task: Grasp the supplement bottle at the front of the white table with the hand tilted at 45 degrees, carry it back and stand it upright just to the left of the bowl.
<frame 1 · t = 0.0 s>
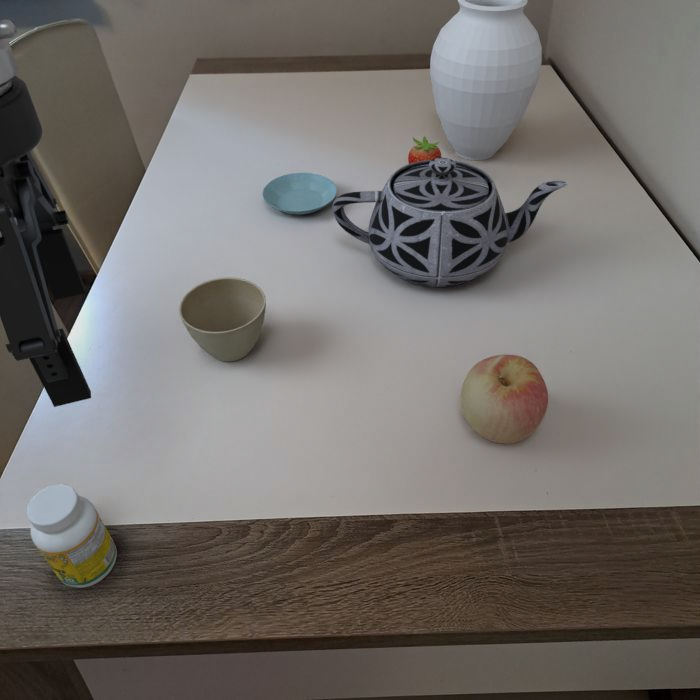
hand: (71, 342, 54), 18 cm above the table, tool pointing down, fingers open, 13 cm apart
bowl: (232, 349, 80), on the table
fruit: (423, 183, 108), on the table
apple: (497, 425, 70), on the table
supplement bottle: (88, 563, 60), on the table
vase: (474, 152, 116), on the table
teapot: (442, 260, 92), on the table
saucer: (300, 204, 104), on the table
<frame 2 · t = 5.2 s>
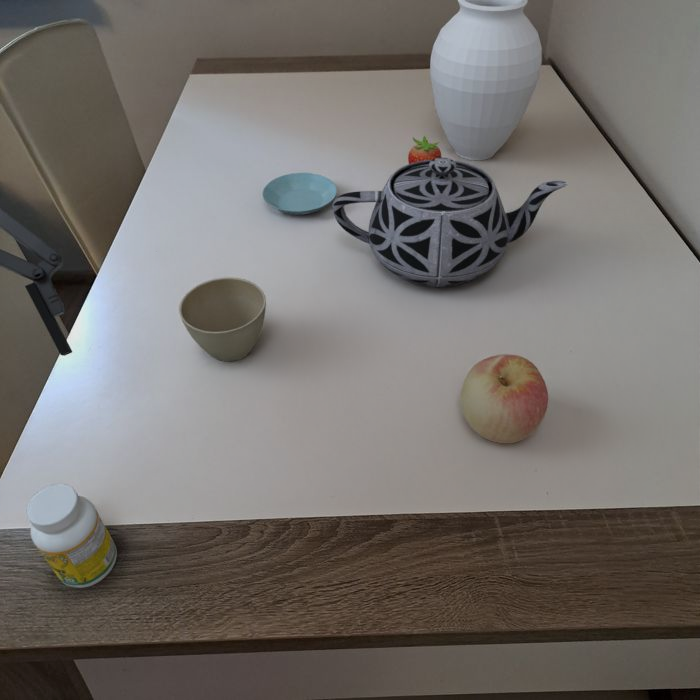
nothing on the table moved.
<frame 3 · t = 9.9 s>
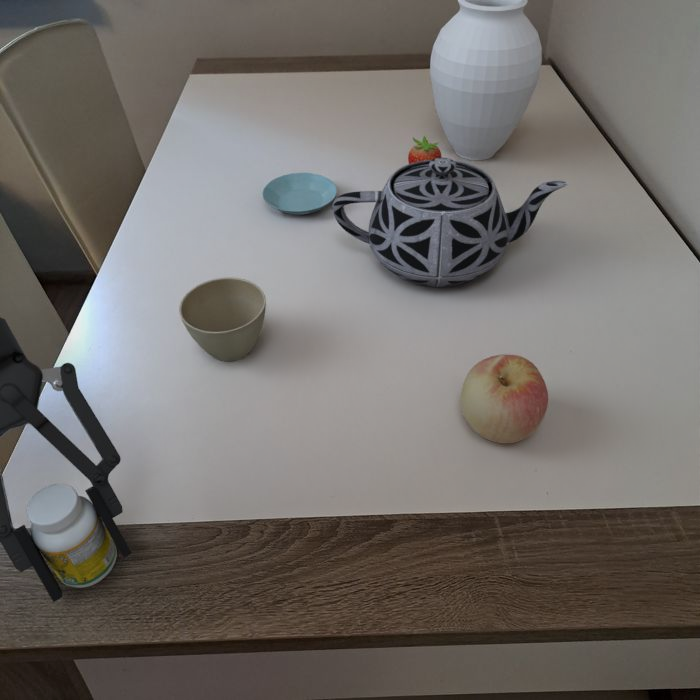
hand: (92, 573, 55), 3 cm above the table, tool tilted 45°, fingers closed on supplement bottle, 5 cm apart
supplement bottle: (88, 563, 60), on the table, touching gripper
everything else where it was.
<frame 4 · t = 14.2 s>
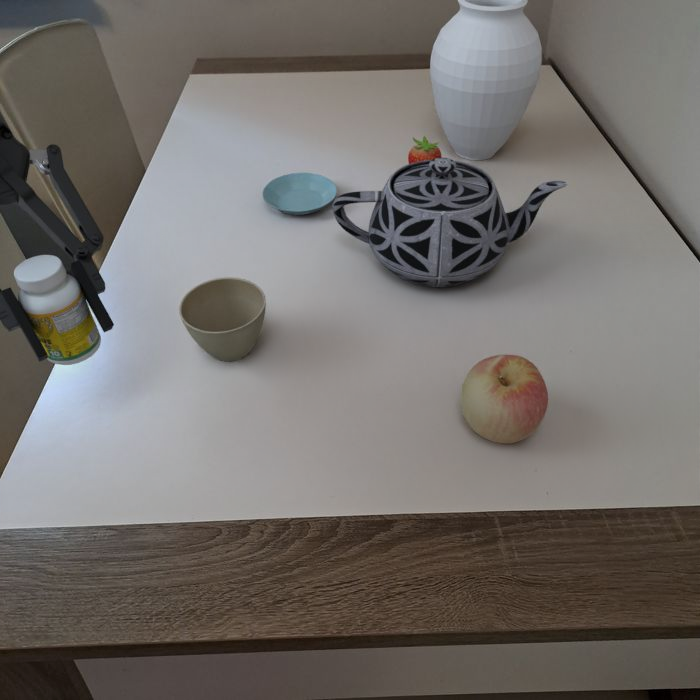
hand: (76, 342, 58), 15 cm above the table, tool tilted 45°, fingers closed on supplement bottle, 5 cm apart
supplement bottle: (74, 349, 63), point 12 cm above the table, touching gripper
everything else where it was.
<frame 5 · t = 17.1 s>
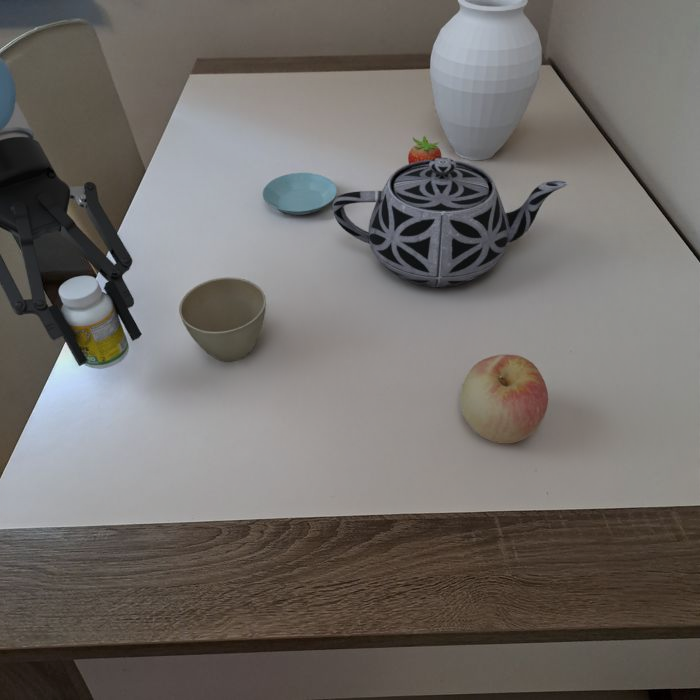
hand: (110, 349, 69), 8 cm above the table, tool tilted 45°, fingers closed on supplement bottle, 5 cm apart
supplement bottle: (106, 355, 73), point 4 cm above the table, touching gripper
everything else where it was.
when the fingers open (3 cm above the table, at t = 18.9 s): supplement bottle stays where it is, on the table.
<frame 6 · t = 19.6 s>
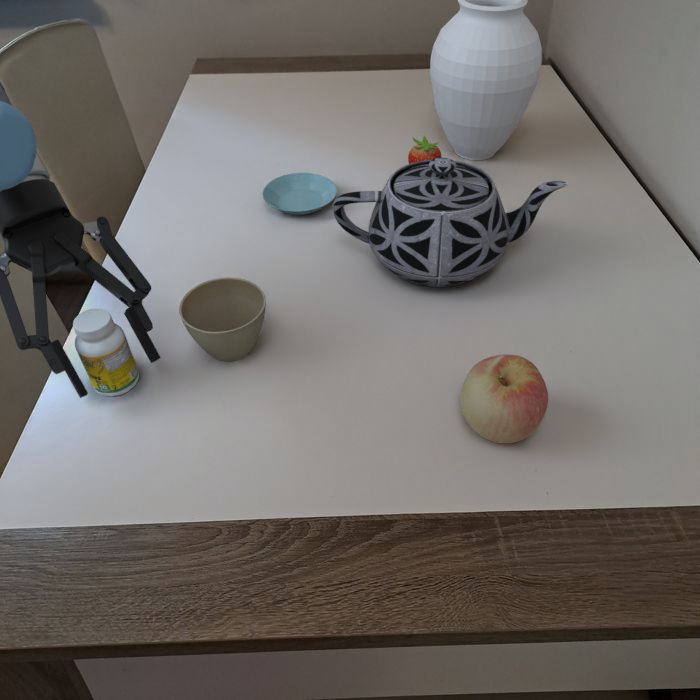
hand: (120, 377, 72), 3 cm above the table, tool tilted 45°, fingers open, 8 cm apart
supplement bottle: (117, 382, 76), on the table
everything else where it was.
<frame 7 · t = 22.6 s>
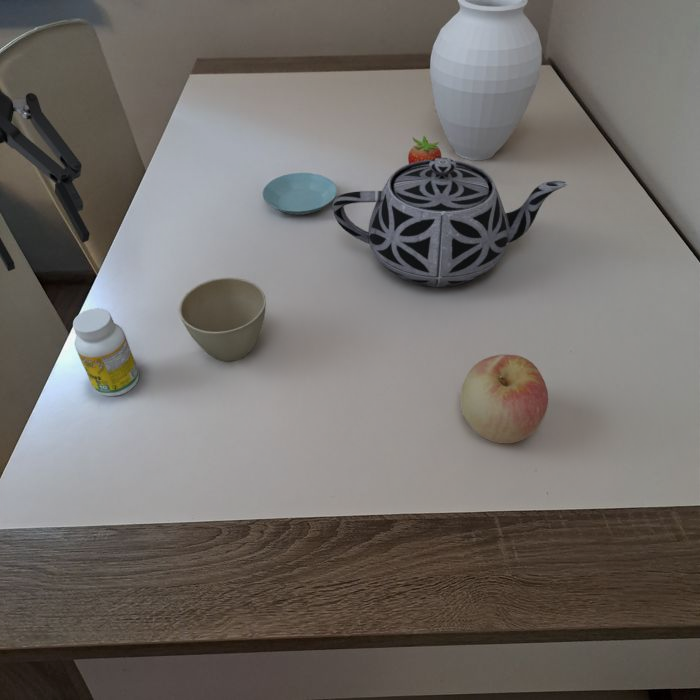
hand: (49, 252, 72), 13 cm above the table, tool tilted 45°, fingers open, 8 cm apart
nothing on the table moved.
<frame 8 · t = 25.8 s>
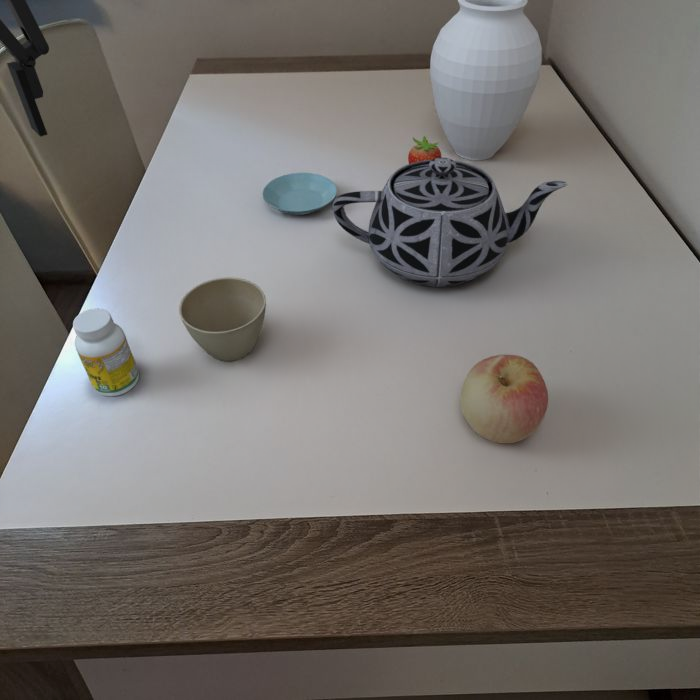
nothing on the table moved.
at the end: supplement bottle inside the target area on the table beside the bowl (0.2 cm from its centre), on the table; supplement bottle tilted 0°; bowl moved 0.2 cm from its start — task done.
